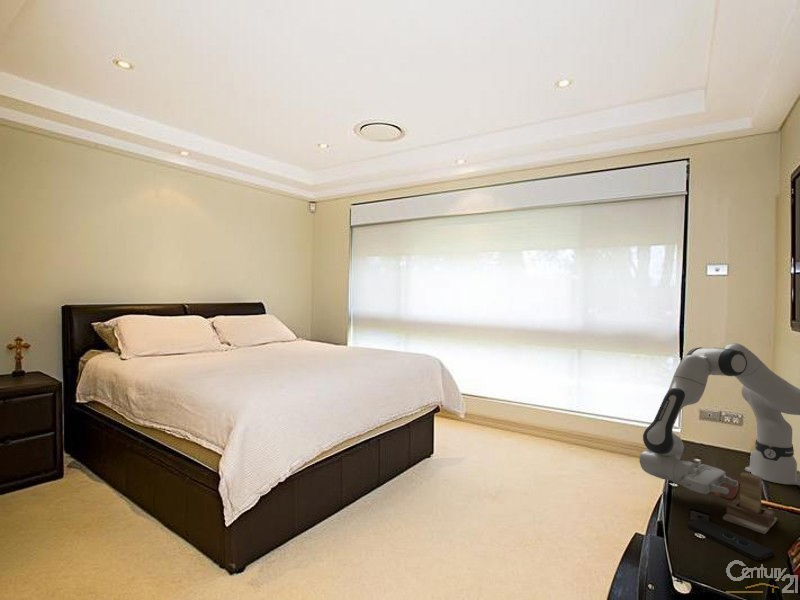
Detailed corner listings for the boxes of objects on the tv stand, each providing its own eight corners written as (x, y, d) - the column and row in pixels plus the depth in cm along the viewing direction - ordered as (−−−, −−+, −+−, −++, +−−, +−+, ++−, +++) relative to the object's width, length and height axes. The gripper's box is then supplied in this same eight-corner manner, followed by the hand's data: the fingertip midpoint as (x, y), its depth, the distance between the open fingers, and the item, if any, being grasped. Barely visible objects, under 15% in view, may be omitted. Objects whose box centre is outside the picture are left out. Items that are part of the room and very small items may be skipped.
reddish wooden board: (733, 502, 159) (733, 498, 159) (700, 493, 166) (700, 489, 166) (744, 481, 178) (744, 476, 178) (714, 473, 185) (714, 469, 185)
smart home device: (758, 557, 123) (686, 522, 141) (757, 563, 123) (686, 528, 141) (774, 550, 126) (702, 517, 144) (774, 556, 126) (702, 522, 144)
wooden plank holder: (736, 507, 154) (737, 496, 154) (776, 520, 145) (777, 508, 145) (723, 519, 146) (723, 507, 146) (764, 534, 137) (765, 521, 137)
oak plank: (742, 512, 148) (743, 471, 148) (760, 518, 144) (761, 477, 144) (739, 515, 147) (740, 474, 146) (758, 521, 143) (759, 479, 142)
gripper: (675, 472, 154) (722, 486, 143) (697, 459, 166) (742, 471, 155) (675, 490, 154) (722, 505, 143) (697, 476, 166) (741, 489, 155)
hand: (732, 487), depth 149 cm, fingers open, 8 cm apart
